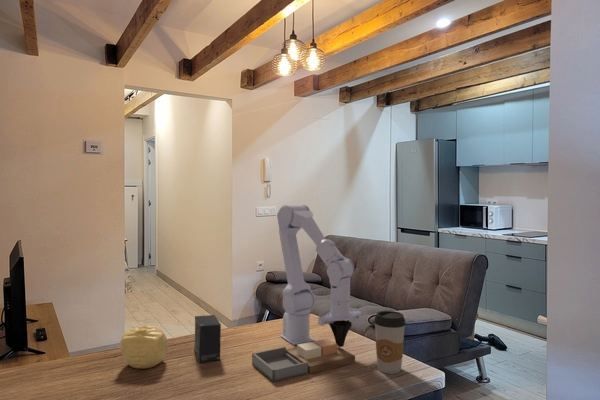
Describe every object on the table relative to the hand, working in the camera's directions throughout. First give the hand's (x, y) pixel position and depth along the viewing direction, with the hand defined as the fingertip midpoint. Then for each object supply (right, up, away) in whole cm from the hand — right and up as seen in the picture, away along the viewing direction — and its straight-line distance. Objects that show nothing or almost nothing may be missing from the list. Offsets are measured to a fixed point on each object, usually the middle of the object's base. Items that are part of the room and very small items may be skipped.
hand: (339, 345), depth 123 cm
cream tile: (-9, -1, -6) cm, 11 cm away
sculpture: (-55, -3, -8) cm, 55 cm away
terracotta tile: (-4, -1, -3) cm, 5 cm away
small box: (-39, -3, -1) cm, 39 cm away
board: (-6, -3, -4) cm, 8 cm away
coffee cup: (+13, -3, -10) cm, 16 cm away
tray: (-17, -3, -10) cm, 20 cm away
